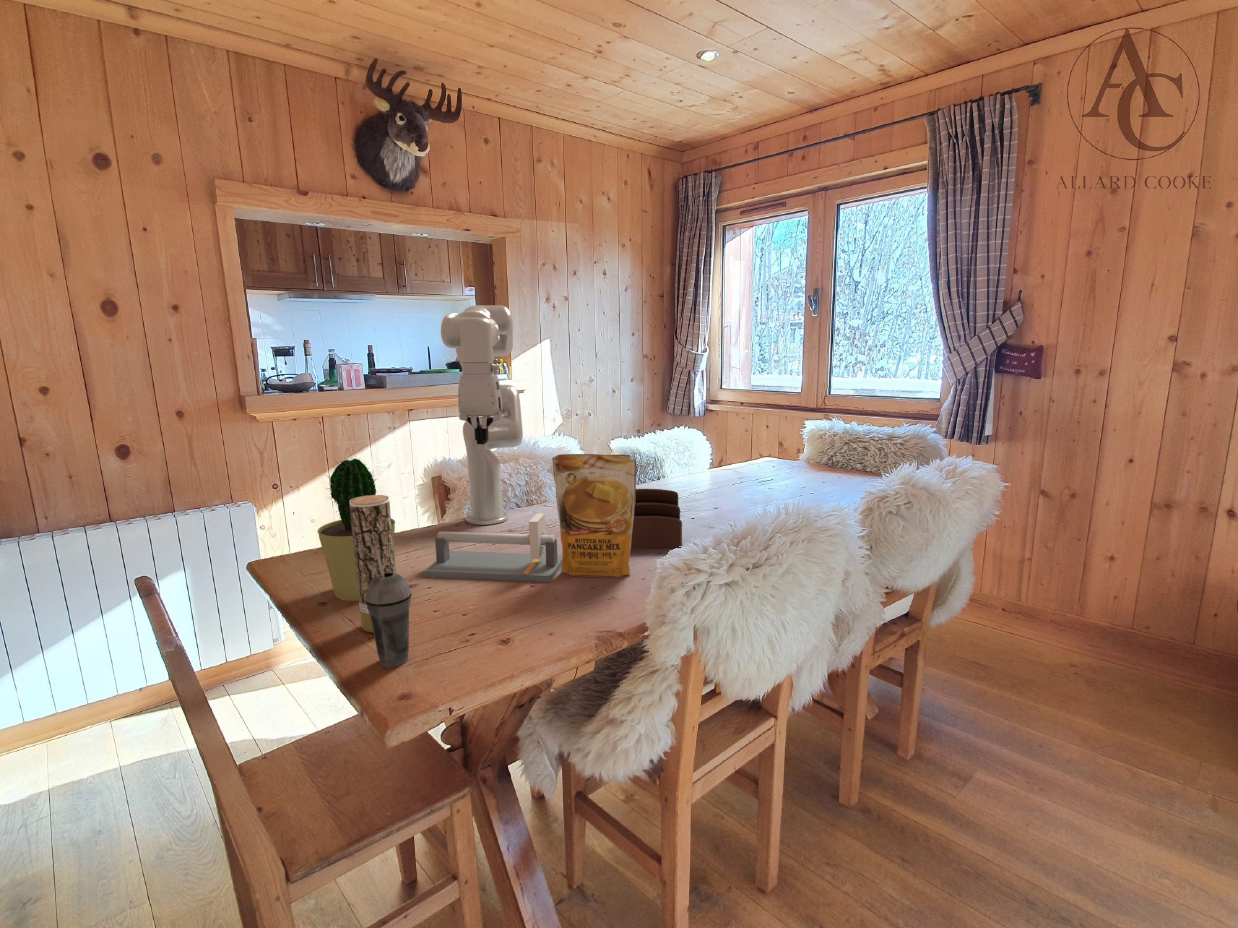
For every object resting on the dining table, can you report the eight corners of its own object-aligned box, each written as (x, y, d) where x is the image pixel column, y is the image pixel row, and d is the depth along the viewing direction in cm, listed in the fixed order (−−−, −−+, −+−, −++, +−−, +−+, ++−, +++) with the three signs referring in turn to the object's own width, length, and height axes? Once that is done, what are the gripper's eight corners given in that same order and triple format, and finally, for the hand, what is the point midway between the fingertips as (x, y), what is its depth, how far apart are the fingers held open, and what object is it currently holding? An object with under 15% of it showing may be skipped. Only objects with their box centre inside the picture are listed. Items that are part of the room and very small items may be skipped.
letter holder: (606, 538, 168) (605, 488, 166) (678, 536, 169) (678, 487, 166) (606, 550, 159) (605, 497, 156) (682, 548, 159) (682, 496, 156)
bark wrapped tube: (387, 635, 112) (375, 505, 108) (354, 632, 114) (341, 503, 109) (406, 619, 119) (396, 495, 114) (375, 617, 120) (363, 494, 115)
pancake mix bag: (559, 566, 147) (555, 451, 142) (637, 568, 145) (637, 452, 139) (552, 576, 140) (548, 457, 135) (634, 579, 138) (634, 458, 133)
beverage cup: (424, 660, 103) (415, 548, 100) (382, 676, 98) (372, 559, 95) (404, 646, 109) (395, 538, 105) (363, 661, 103) (352, 548, 100)
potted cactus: (391, 572, 144) (380, 447, 138) (408, 594, 131) (396, 457, 126) (320, 586, 136) (305, 454, 130) (330, 611, 123) (314, 466, 117)
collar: (538, 549, 147) (537, 513, 145) (546, 549, 147) (545, 513, 145) (530, 559, 140) (528, 521, 139) (538, 559, 140) (537, 521, 138)
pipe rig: (449, 556, 155) (447, 523, 153) (565, 560, 151) (563, 526, 149) (424, 576, 141) (422, 540, 139) (551, 582, 137) (549, 544, 135)
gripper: (512, 368, 151) (515, 441, 155) (454, 368, 153) (459, 440, 157) (502, 370, 144) (506, 447, 148) (442, 370, 146) (447, 445, 150)
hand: (482, 443), depth 153 cm, fingers closed
